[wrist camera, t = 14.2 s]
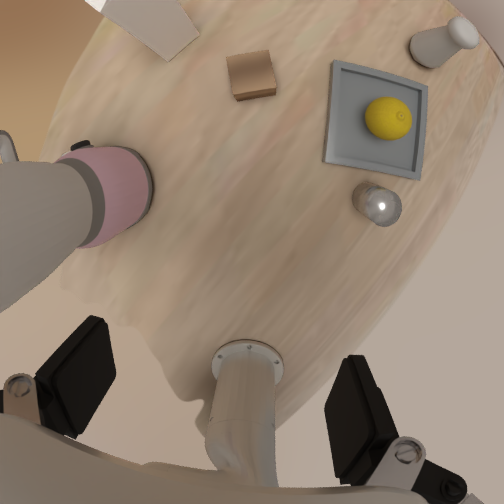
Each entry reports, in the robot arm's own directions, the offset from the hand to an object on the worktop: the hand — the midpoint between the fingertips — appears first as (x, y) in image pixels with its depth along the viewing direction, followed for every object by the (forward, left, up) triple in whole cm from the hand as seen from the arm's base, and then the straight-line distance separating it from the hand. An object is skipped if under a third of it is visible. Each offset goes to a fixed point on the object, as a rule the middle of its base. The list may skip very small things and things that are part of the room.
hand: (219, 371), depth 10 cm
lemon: (+14, -15, -30) cm, 36 cm away
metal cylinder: (+3, -15, -30) cm, 34 cm away
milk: (+24, +14, -31) cm, 41 cm away
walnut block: (+17, +2, -31) cm, 35 cm away
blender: (+3, +21, -31) cm, 37 cm away
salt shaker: (+27, -22, -31) cm, 47 cm away
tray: (+14, -15, -30) cm, 37 cm away
